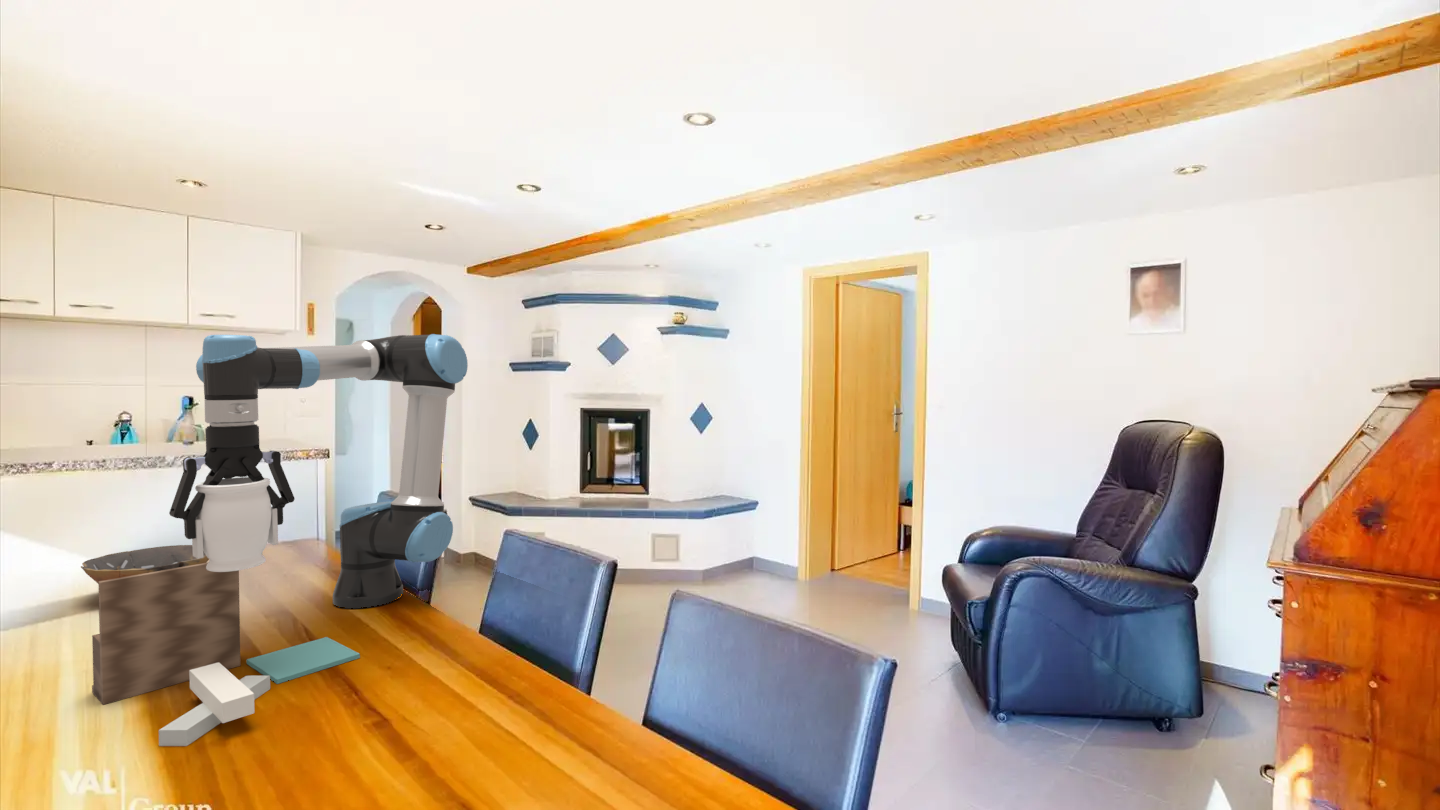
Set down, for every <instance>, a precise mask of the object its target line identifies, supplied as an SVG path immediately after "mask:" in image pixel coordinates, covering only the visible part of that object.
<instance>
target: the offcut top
mask: <svg viewBox="0 0 1440 810" xmlns="http://www.w3.org/2000/svg"><path fill="white" fill-rule="evenodd" d="M189 678H190V680H189V690H190V691H192V692H193V693H194V695H195V696H196V697H197V698H199V700H200V701H201V703H204V704H205V705H206V706H207V707H208V708H209V709H210V710H211V711H212V713H213V714H214V715H215V716H216V717H217V718H218V719H219V720H220V721H221V724H225V723H228V722H231V721H234V720H237V719H240V718H243V717H246V716H250V715H252V714H255V700H254V693H253V692H252V691H251V690H250V689H248V688H247V687H246V686H245V685H244V684H243V683H242V682H241V681H239V680H240V679H238V677H236V676H235V675H234V674H233V673H231V672H230V671H229V669H226V668H225V667H224V666H223V665H221V664H220V663H219V662H218V663H214V664H210V665H207V666H203V667H199V668H195V669H192V670H189Z"/></svg>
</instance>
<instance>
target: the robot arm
mask: <svg viewBox="0 0 1440 810" xmlns="http://www.w3.org/2000/svg"><path fill="white" fill-rule="evenodd" d="M202 342H203V343H202V353H201V355H200V356H199V357H198V359H197V360H196V361H197V362H196V364H195V368H196V369H195V370H196V375H197V377H198V378H199V380H200V381H201V382H202V383H203V393H204V395H203V396H204V422H205V423H206V424H209V426H208V425H207V426H206V427H205V429H204V430H205V450H206V451H205V453H204V455H203V456H201V457H194V458H193V457H185V458H183V460H182V470H183V473H182V475H181V479H180V481H179V483H178V487H177V489H176V493H175V494H174V495H175V496H174V498H173V501H172V505H171V507H170V509H169V515H170V516H171V517H173V518H175V519H181V520H183V525H184V537H185V539H187V540H191V541H192V542H191V543H192V544H191V545H192V547H193V556H194V557H196V558H198V559H199V558H203V531H202V519H198V518H196V517H197V515H198V514H199V512H200V511H201V509H202V507H203V502H204V499H205V493H200V492H198V491H197V493H196V494H195V495H194V496H193V498H192V500H191V501H190V503H189V505H187V504H188V501H189V499H190V495H191V492H192V490H193V486H194V484H195V480H196V478H197V473H198V471H200V470H201V469H202V466H203V465H204V464H205V465H206V467H208V469H209V470H210V471H209V473H208V474H207V476H206V477H205V479H204V481H203V482H204V483H203V485H218V484H219V483H220V482H221V480H222V479H229V478H242V477H249V478H250V479H251V480H252V481H253V482H257V481H261V480H264V478H265V477H264V476H263V475H262V473H261V472H260V470H259V469H258V468H257V466H258V465H259V463H260V462H261V461H262V459H263V460H264V462H265V464H268V465H267V466H268V468H269V471H270V472H271V475H272V477H273V480H274V483H275V485H276V487H277V490H278V493H279V494H277V493H276V491H275V490H274V489H273V488H272V486H271V484H269V485H268V486H267V491H268V494H269V497H270V502H271V524H270V529H269V537H268V541H267V544H270V545H272V546H275V545H279V525H283V522H284V508H285V506H286V505H287V504H289V503H293V502H294V501H295V496H294V494H293V491H292V488H291V486H290V484H289V481H288V479H287V476H286V473H285V471H284V469H283V467H282V465H281V462H282V461H281V458H282V457H281V455H282V454H281V452H280V451H276V450H270V451H262V449H261V448H260V426H259V425H258V424H255V422H257V421H259V390H263V389H264V390H267V389H268V390H273V389H274V390H275V389H276V390H278V389H279V390H280V389H281V390H282V389H284V390H285V389H287V390H289V389H292V390H293V389H294V390H299V389H305V388H307V389H308V388H311V387H312V386H314V385H315V384H316V383H317V382H318V381H330V380H339V379H350V378H356V379H357V380H358V381H359V380H360V381H384V382H385V381H386V382H396V383H402V389H403V390H404V391H405V392H406V393H407V395H408V400H407V409H406V410H407V411H406V419H405V420H406V421H405V430H404V440H403V449H402V450H403V451H402V459H401V460H402V461H401V468H400V469H401V470H400V471H401V472H400V481H399V491H398V496H397V497H395V498H394V500H392V501H380V502H379V501H378V502H372V503H371V502H370V503H365V504H360V505H354V506H351V507H347V508H345V509H344V510H343V511H342V512H341V514H340V521H339V522H340V523H339V545H340V548H339V549H340V573H339V576H338V578H337V581H336V583H335V587H334V589H333V592H332V604H334V605H336V606H339V607H338V608H340V607H345V608H344V609H351V608H353V609H364V608H363V607H367V608H372V607H371V606H374V607H378V606H377V605H379V606H383V605H382V604H384V605H387V604H390V603H392V602H391V601H393V600H395V599H397V598H398V597H400V596H401V594H403V595H404V585H403V582H402V580H401V576H400V574H399V571H398V568H397V567H396V560H397V561H408V562H411V563H428V562H432V561H436V559H439V557H441V556H442V555H443V553H444V552H445V551H446V550H447V549H448V547H449V545H450V543H451V540H452V537H453V533H454V525H453V521H452V519H451V517H450V515H448V514H447V513H446V512H444V510H445V503H444V502H443V501H442V499H440V498H439V492H440V491H439V490H440V481H441V469H442V458H443V449H444V437H445V426H446V414H447V406H448V399H449V397H450V396H451V395H454V394H455V392H456V391H455V390H456V384H458V383H460V382H461V381H463V380H464V377H466V375H467V372H468V366H469V365H468V358H467V354H466V351H465V349H464V348H463V347H462V344H461V343H460V342H459V340H457V339H456V338H455V337H453V336H451V335H447V334H446V335H445V334H435V333H431V334H416V335H415V334H414V335H413V334H411V335H409V334H408V335H407V334H401V335H400V334H399V335H392V336H386V337H381V338H374V339H373V338H372V339H367V340H365V339H364V340H363V339H361V340H356V341H354V342H352V343H351V344H345V345H344V344H341V345H340V344H339V345H313V346H309V345H307V346H287V347H286V346H285V347H284V346H283V347H280V346H279V347H258V345H257V340H256V338H255V337H253V336H251V335H243V334H242V335H241V334H210V335H207V336H206V337H204V339H203V341H202ZM279 495H280V496H281V497H280V496H279ZM186 506H187V508H186ZM389 602H390V603H389ZM393 602H394V601H393ZM386 603H387V604H386ZM334 605H333V606H334ZM336 606H335V607H336ZM361 607H362V608H361Z"/></svg>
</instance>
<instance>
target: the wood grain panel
mask: <svg viewBox="0 0 1440 810" xmlns="http://www.w3.org/2000/svg"><path fill="white" fill-rule="evenodd" d="M207 564H208V562H206V563H202V564H196V565H190V566H185V567H179V568H173V569H167V570H162V571H156V572H150V573H144V574H139V575H133V576H127V577H121V578H116V579H110V580H104V581H98V583H97V584H98V585H97V586H98V616H99V618H98V621H99V624H98V625H99V630H98V631H99V633H97V634H96V633H95V634H92V636H91V637H92V641H91V642H92V674H93V675H92V681H93V682H92V684H93V685H91V693H92V694H93V696H95V697H97V698H96V699H97V700H98V701H99V702H100V704H101V705H102V706H104V705H108V704H111V703H115V702H118V701H121V700H126V699H128V698H129V699H130V698H132V697H136V696H139V695H143V694H146V693H149V692H150V693H151V692H152V691H156V690H160V689H163V688H167V687H171V686H174V685H177V684H180V683H184V682H188V681H190V678H189V670H192V669H195V668H199V667H203V666H207V665H210V664H214V663H218V662H219V663H220V664H221V665H223V666H224V667H225V668H226V669H227V670H230V669H234V668H236V667H240V666H241V634H240V633H241V630H240V629H241V626H240V625H241V624H240V623H241V618H240V616H241V613H240V612H241V611H240V570H238V571H230V572H212V571H208V570H207V569H206V566H207Z"/></svg>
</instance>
